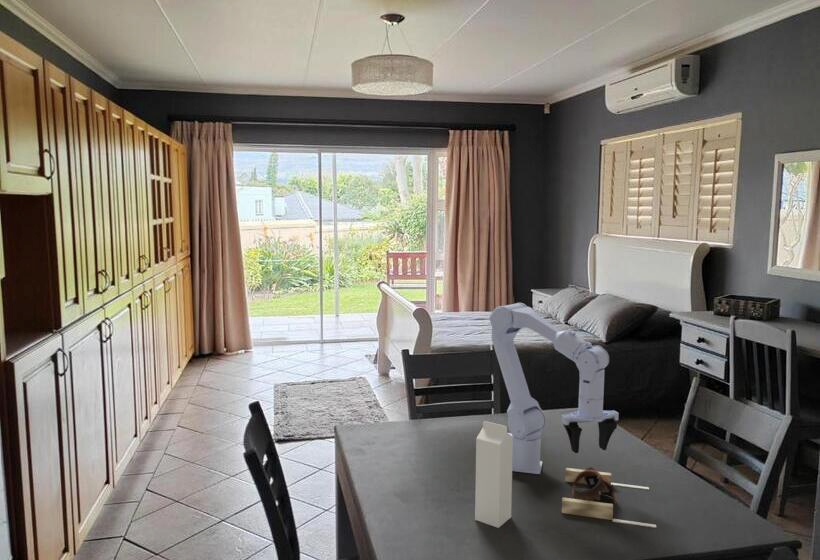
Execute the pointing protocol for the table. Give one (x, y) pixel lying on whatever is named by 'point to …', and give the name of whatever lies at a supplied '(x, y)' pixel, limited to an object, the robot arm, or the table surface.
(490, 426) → the milk
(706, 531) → the table surface
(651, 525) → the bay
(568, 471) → the cradle
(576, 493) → the pottery mug
